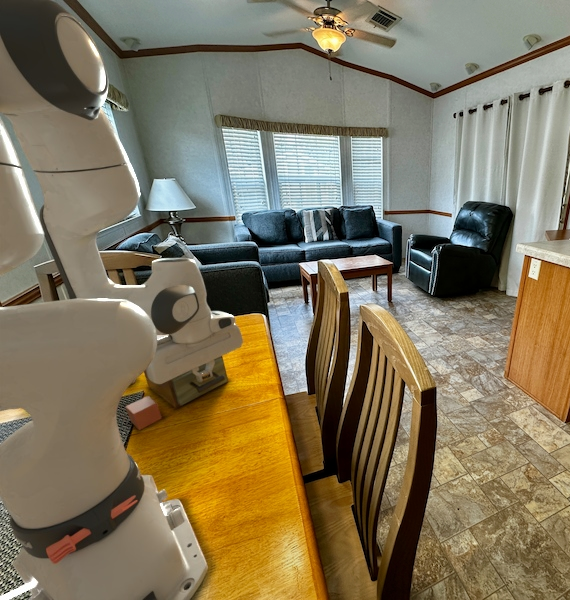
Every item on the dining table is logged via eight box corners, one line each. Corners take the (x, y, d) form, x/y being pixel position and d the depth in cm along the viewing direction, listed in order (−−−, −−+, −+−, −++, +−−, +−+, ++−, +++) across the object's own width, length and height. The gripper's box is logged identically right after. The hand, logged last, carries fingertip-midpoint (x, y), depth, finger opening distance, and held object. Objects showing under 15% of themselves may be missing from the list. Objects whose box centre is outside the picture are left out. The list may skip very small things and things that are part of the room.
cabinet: (228, 381, 87) (221, 352, 84) (176, 408, 77) (166, 377, 74) (199, 364, 95) (192, 337, 91) (149, 387, 85) (139, 358, 82)
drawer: (238, 387, 83) (233, 364, 81) (191, 413, 74) (183, 388, 72) (201, 365, 93) (195, 344, 90) (154, 386, 84) (147, 363, 81)
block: (162, 418, 74) (156, 402, 73) (139, 430, 71) (133, 414, 69) (153, 411, 76) (148, 395, 75) (131, 422, 73) (125, 406, 71)
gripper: (144, 351, 64) (163, 408, 69) (241, 314, 80) (250, 363, 85) (130, 342, 67) (150, 397, 72) (226, 309, 83) (236, 356, 88)
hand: (205, 378), depth 79 cm, fingers closed
